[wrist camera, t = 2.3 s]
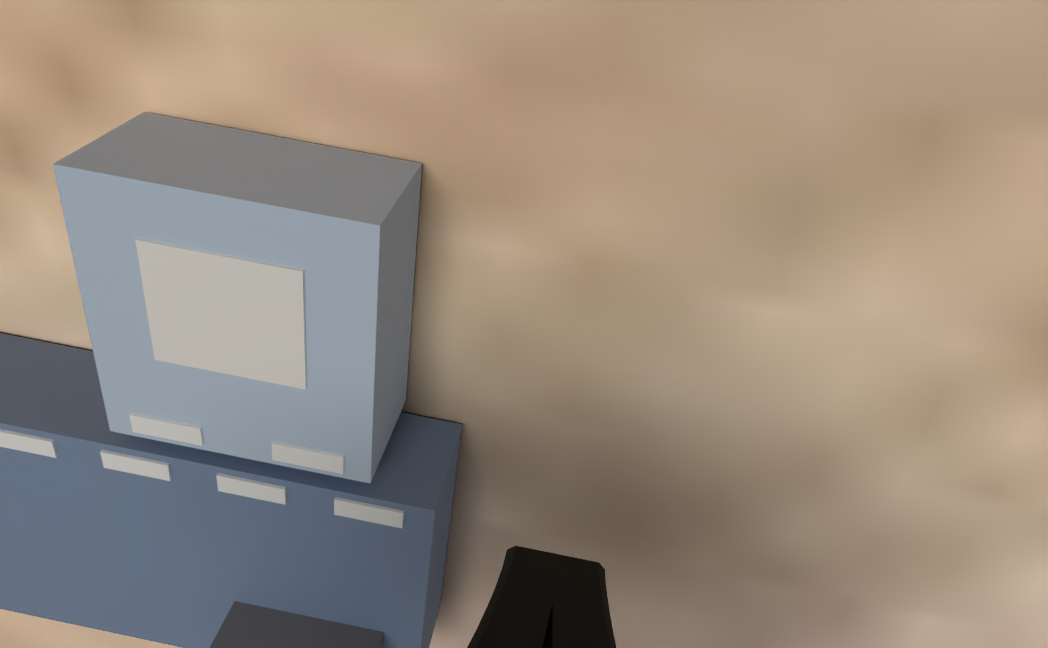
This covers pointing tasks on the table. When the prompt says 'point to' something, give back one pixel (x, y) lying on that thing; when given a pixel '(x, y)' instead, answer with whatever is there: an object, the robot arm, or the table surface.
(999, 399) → the table surface
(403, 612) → the network switch box
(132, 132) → the light blue box
